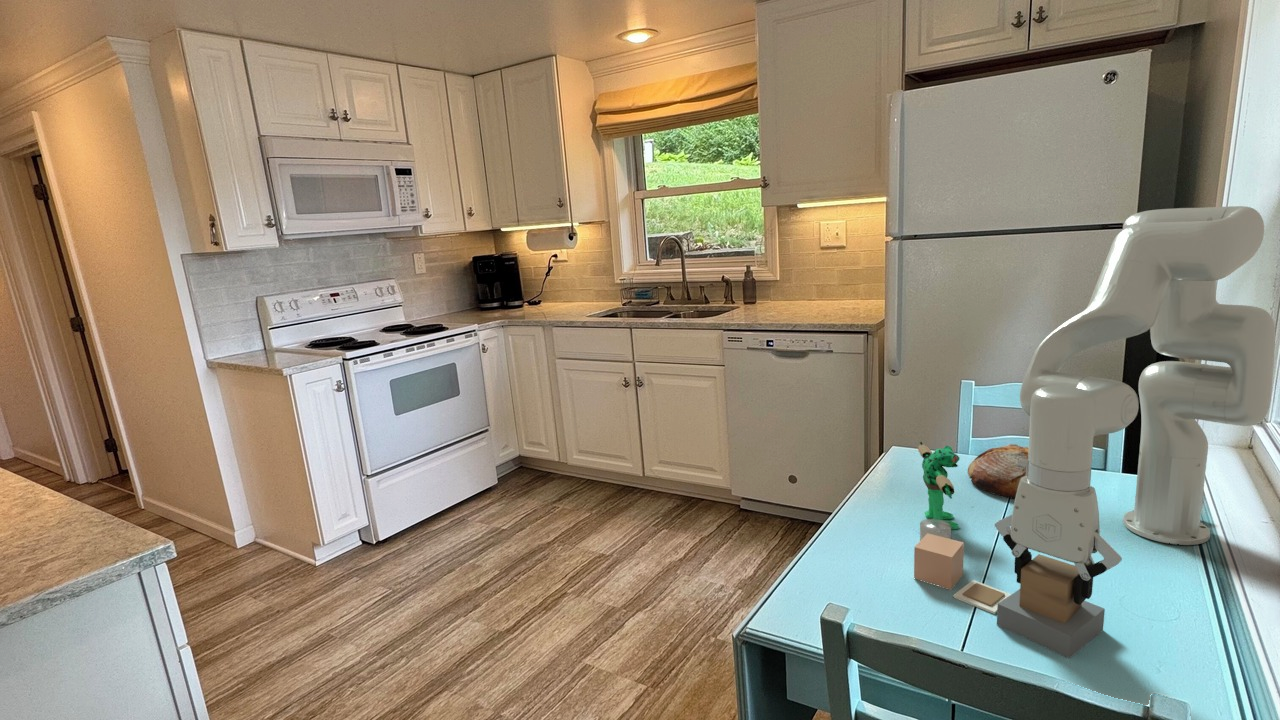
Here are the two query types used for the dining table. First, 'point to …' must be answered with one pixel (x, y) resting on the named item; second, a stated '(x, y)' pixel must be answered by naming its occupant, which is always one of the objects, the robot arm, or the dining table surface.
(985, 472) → the bread
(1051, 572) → the walnut cube
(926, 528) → the grey tin
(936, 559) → the terracotta cube
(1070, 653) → the base block
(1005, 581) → the dining table surface
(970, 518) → the dining table surface
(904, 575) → the dining table surface
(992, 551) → the dining table surface
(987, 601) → the card
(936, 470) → the toy
